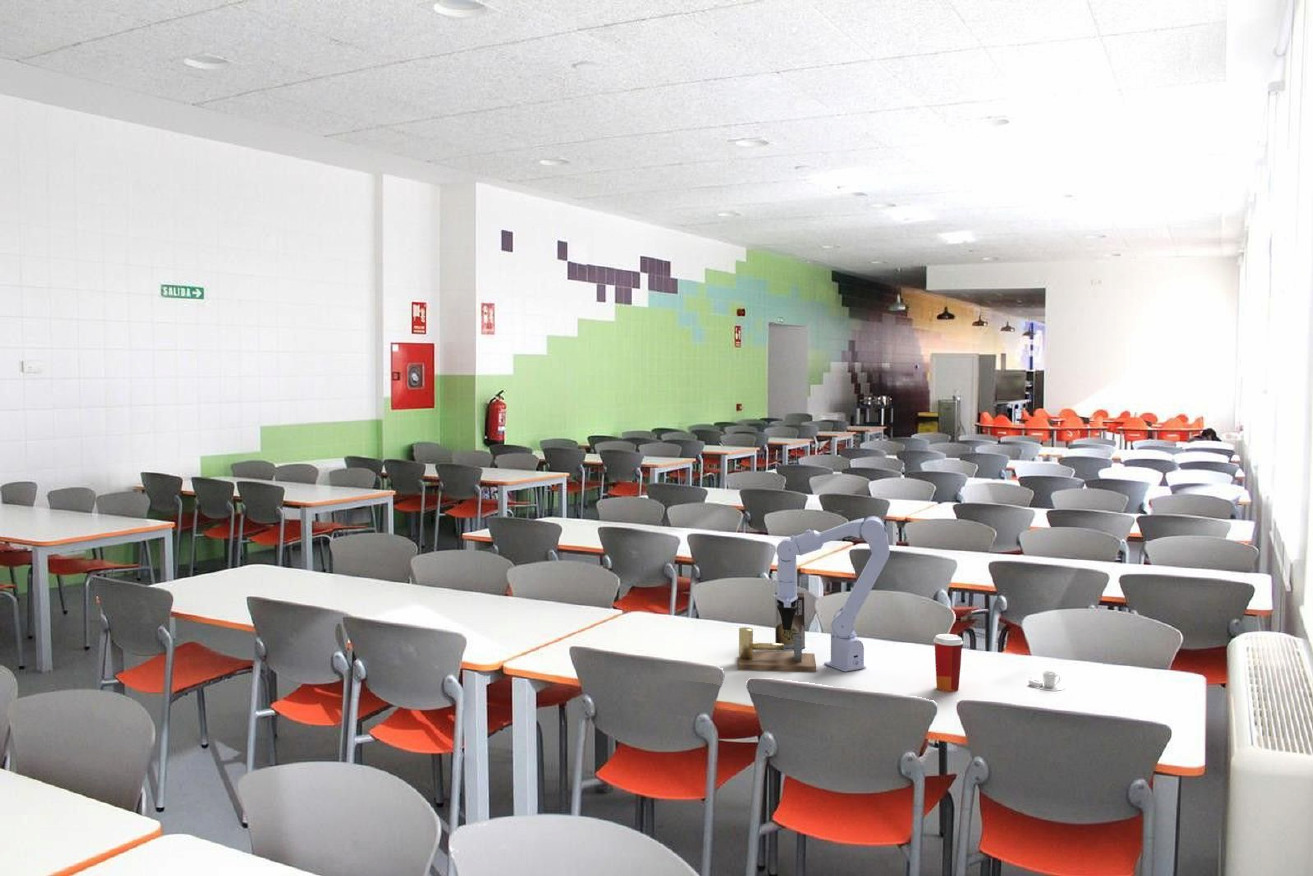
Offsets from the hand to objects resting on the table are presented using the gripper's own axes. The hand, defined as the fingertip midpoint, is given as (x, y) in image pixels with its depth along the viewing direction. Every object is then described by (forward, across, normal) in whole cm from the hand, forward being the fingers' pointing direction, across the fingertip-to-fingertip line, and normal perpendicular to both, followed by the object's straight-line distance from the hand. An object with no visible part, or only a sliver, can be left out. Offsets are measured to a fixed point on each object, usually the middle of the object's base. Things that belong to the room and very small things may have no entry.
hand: (786, 627), depth 301 cm
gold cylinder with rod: (+9, +2, -7) cm, 11 cm away
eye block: (+10, +2, -3) cm, 11 cm away
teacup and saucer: (+11, +14, +69) cm, 71 cm away
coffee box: (+11, -19, +1) cm, 22 cm away
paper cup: (+11, +22, +42) cm, 49 cm away
